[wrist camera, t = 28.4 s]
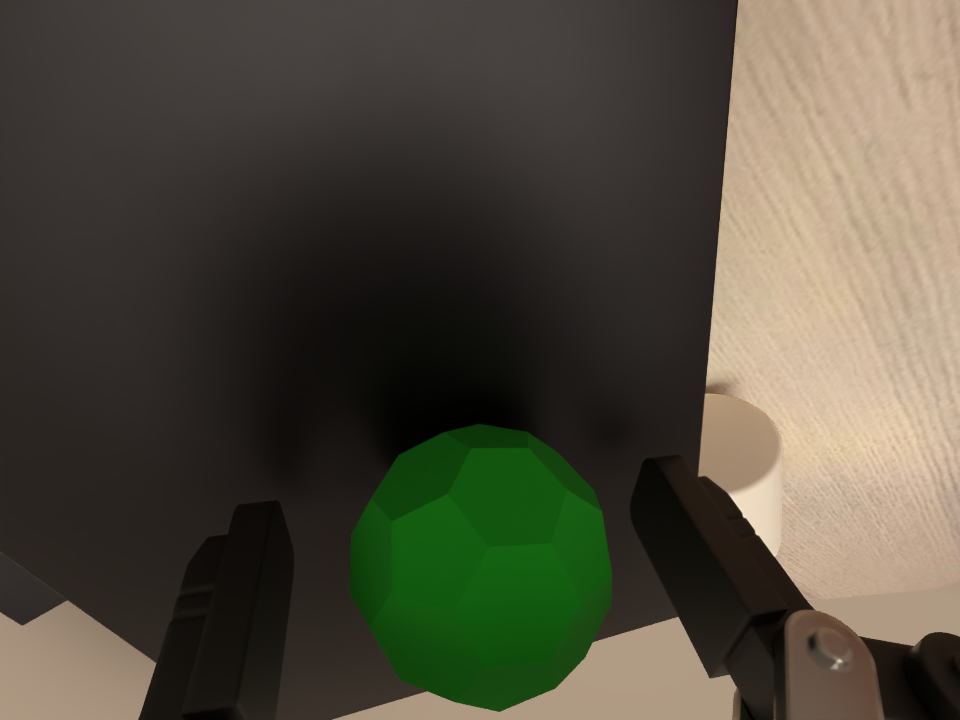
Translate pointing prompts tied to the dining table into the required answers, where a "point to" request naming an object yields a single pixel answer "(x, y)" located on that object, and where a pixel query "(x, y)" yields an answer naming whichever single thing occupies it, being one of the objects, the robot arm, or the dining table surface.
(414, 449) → the polyhedron
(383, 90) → the oven
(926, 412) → the dining table surface
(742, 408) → the mug
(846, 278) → the dining table surface
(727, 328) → the dining table surface
